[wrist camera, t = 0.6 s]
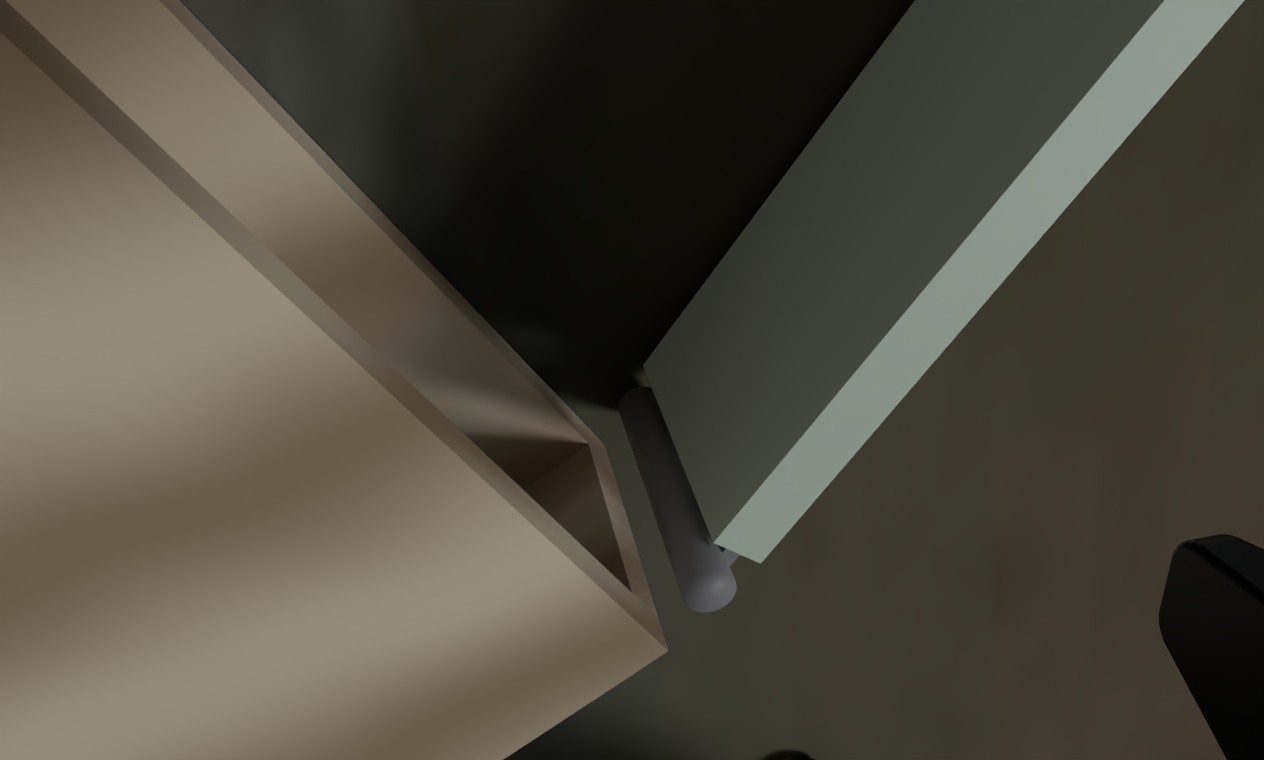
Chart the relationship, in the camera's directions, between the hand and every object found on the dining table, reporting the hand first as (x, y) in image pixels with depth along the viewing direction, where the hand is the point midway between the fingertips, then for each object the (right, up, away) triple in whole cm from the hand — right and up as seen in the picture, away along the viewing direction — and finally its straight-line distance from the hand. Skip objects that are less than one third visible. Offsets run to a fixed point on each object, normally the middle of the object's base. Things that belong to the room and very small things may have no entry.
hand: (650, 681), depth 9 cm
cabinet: (-10, +2, +12) cm, 16 cm away
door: (+4, +7, +12) cm, 14 cm away
